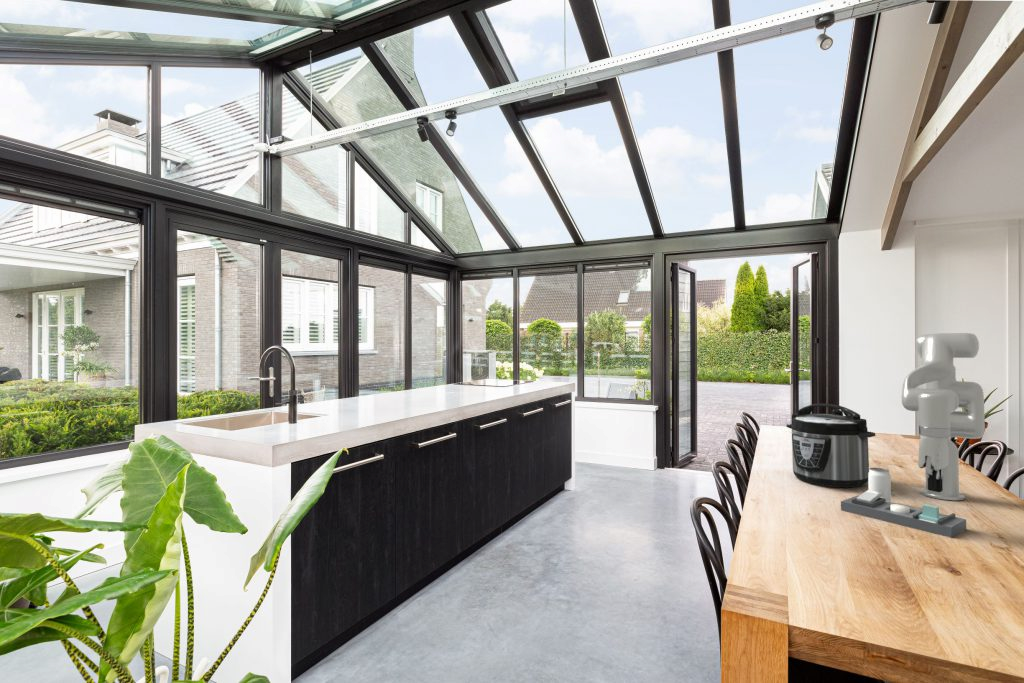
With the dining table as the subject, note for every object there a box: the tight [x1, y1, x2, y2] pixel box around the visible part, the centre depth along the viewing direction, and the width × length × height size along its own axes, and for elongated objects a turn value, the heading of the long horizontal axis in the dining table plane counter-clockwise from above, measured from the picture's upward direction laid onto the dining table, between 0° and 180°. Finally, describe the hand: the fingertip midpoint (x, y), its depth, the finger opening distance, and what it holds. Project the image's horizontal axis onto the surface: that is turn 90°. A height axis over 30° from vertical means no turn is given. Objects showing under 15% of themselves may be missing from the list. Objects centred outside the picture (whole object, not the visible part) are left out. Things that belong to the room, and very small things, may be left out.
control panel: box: [840, 495, 967, 539], centre depth 166 cm, size 12×30×4 cm, turn 33°
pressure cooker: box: [786, 403, 876, 488], centre depth 213 cm, size 30×28×32 cm
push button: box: [890, 503, 910, 515], centre depth 166 cm, size 5×5×4 cm
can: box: [867, 467, 892, 503], centre depth 183 cm, size 6×6×12 cm
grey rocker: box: [856, 489, 881, 503], centre depth 174 cm, size 8×4×1 cm, turn 123°
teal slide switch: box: [919, 503, 943, 523], centre depth 157 cm, size 4×5×4 cm
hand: (935, 490), depth 160 cm, fingers closed
